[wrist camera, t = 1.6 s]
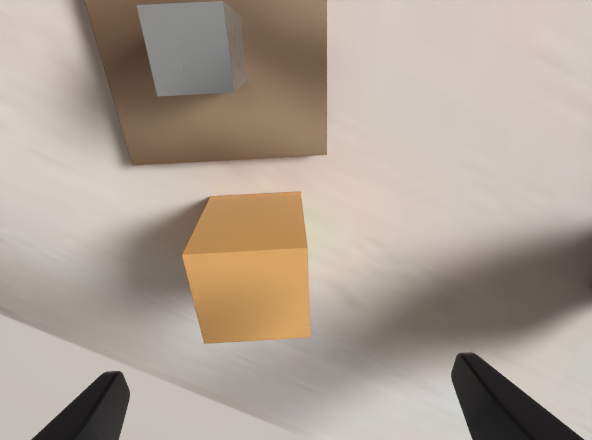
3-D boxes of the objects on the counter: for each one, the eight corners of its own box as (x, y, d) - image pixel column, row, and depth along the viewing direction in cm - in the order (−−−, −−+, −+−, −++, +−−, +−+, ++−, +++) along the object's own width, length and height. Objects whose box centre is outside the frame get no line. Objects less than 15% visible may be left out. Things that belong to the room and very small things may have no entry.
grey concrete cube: (246, 80, 15) (233, 92, 11) (190, 83, 15) (157, 96, 11) (239, 14, 14) (222, 0, 10) (178, 17, 14) (136, 5, 10)
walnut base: (324, 149, 18) (326, 154, 17) (139, 159, 18) (132, 165, 17) (323, -97, 13) (326, -108, 12) (72, -86, 13) (57, -96, 12)
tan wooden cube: (303, 265, 21) (310, 337, 16) (223, 269, 21) (203, 343, 16) (300, 191, 19) (307, 247, 14) (210, 196, 19) (182, 254, 13)
